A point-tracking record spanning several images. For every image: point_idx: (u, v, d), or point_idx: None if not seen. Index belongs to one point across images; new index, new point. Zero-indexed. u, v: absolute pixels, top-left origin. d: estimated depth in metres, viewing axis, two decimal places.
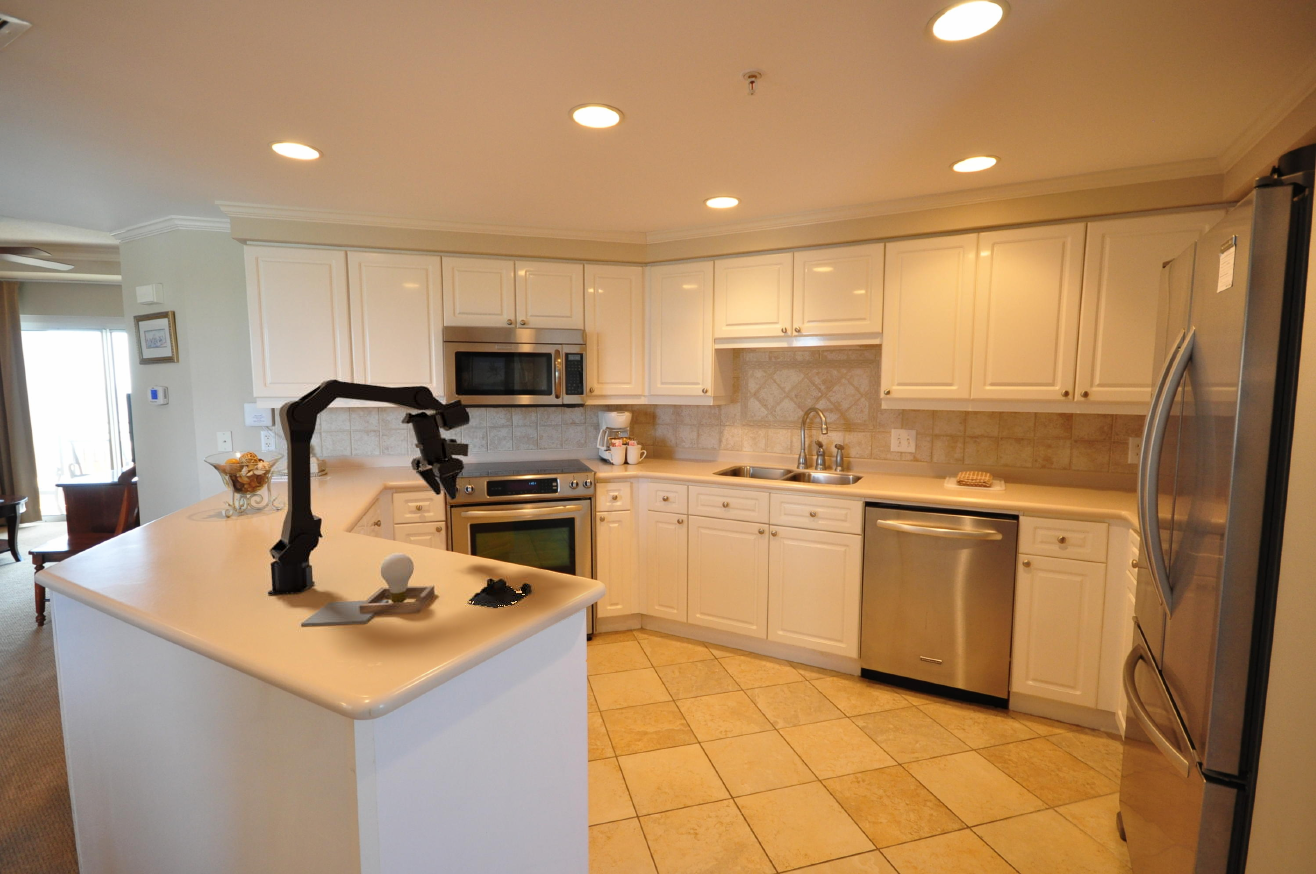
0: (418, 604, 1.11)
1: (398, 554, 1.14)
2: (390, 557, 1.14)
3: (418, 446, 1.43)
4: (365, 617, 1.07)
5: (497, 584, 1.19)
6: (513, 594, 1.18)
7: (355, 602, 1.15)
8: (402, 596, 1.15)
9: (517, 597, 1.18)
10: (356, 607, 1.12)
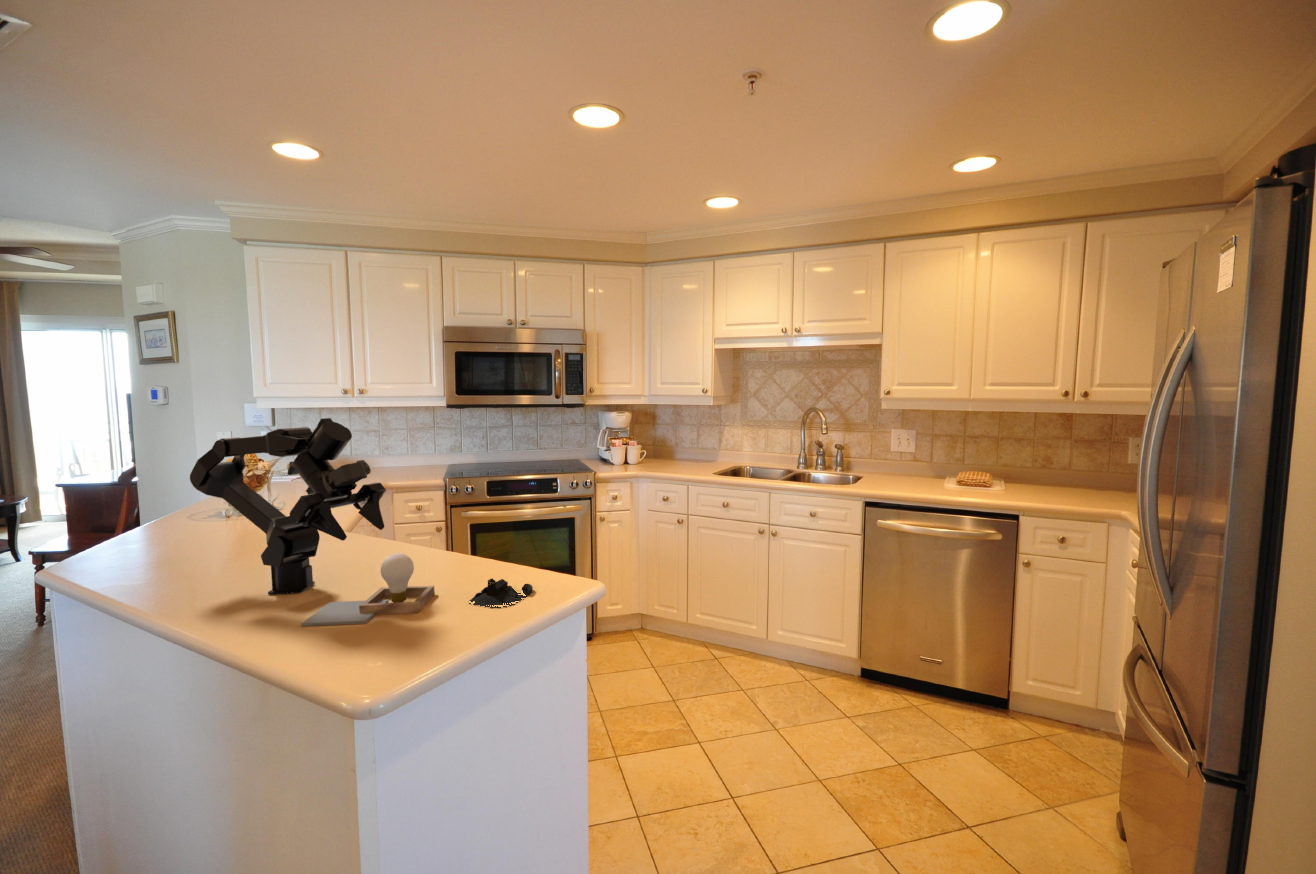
0: (418, 604, 1.11)
1: (398, 554, 1.14)
2: (390, 557, 1.14)
3: None
4: (365, 617, 1.07)
5: (498, 584, 1.18)
6: (514, 595, 1.18)
7: (355, 602, 1.15)
8: (402, 596, 1.15)
9: (518, 598, 1.18)
10: (356, 607, 1.12)
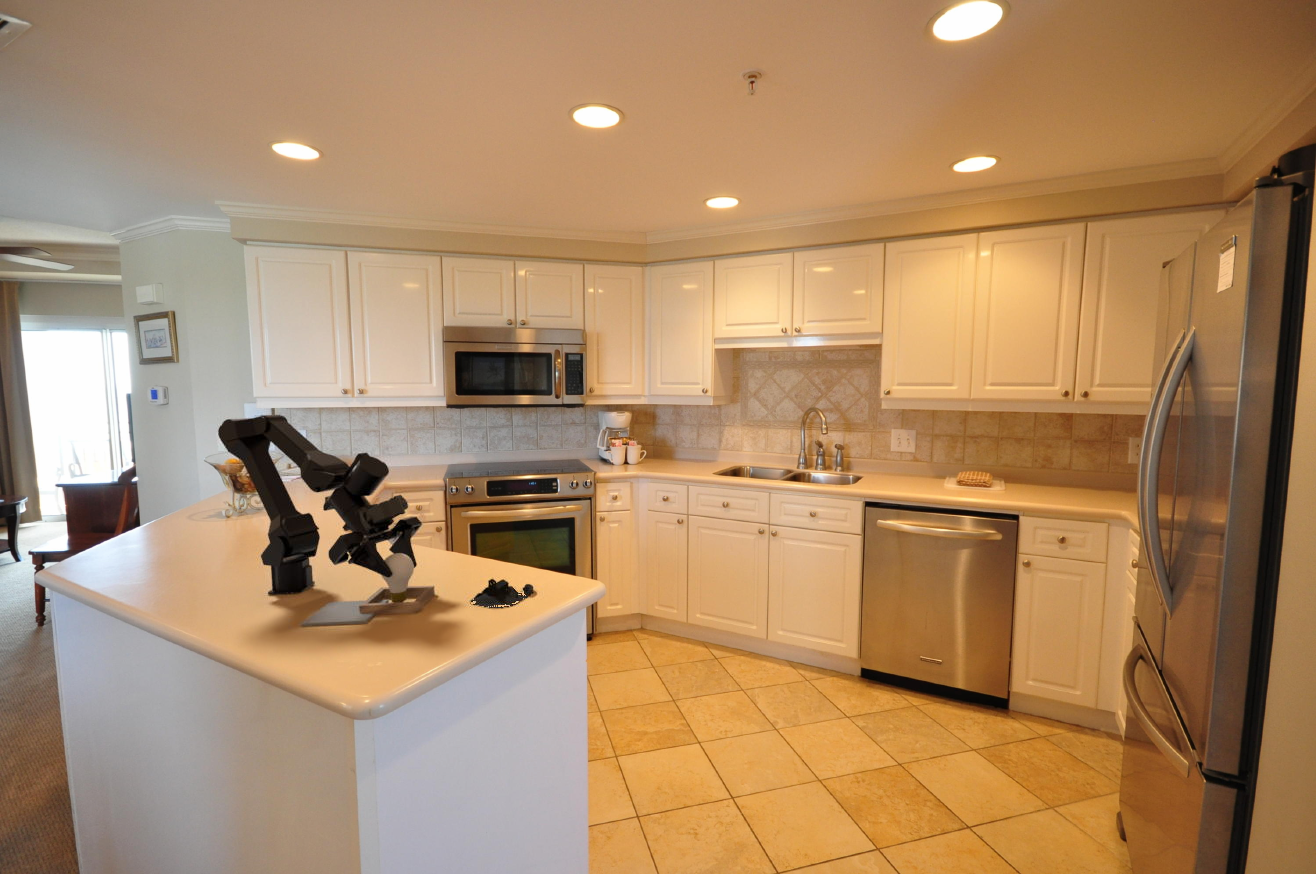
0: (418, 604, 1.11)
1: (398, 554, 1.14)
2: (390, 557, 1.14)
3: None
4: (365, 617, 1.07)
5: (499, 585, 1.18)
6: (514, 595, 1.18)
7: (355, 602, 1.15)
8: (402, 596, 1.15)
9: (518, 598, 1.17)
10: (356, 607, 1.12)
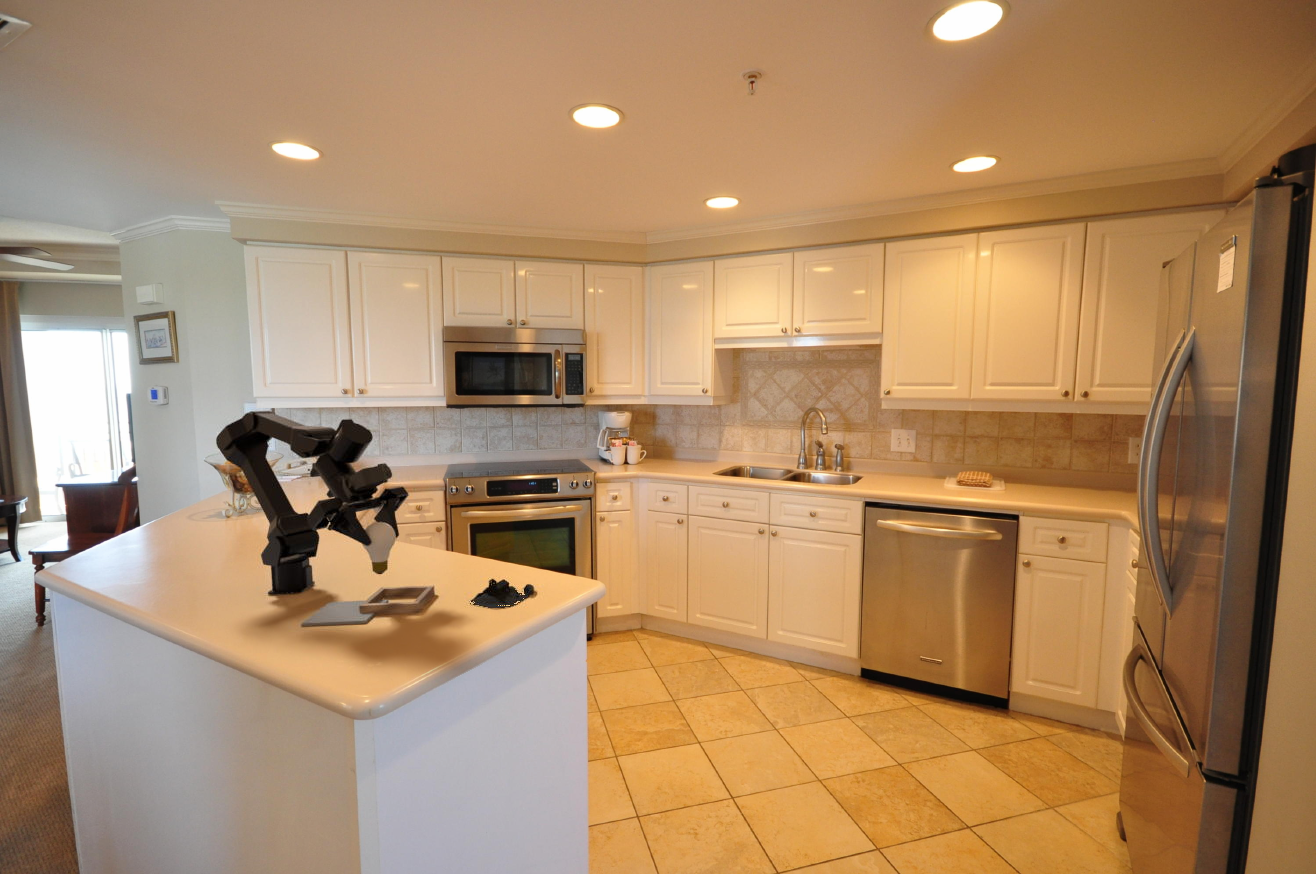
0: (418, 604, 1.11)
1: (379, 523, 1.12)
2: (371, 526, 1.11)
3: None
4: (365, 617, 1.07)
5: (499, 585, 1.18)
6: (515, 595, 1.18)
7: (355, 602, 1.15)
8: (383, 566, 1.12)
9: (519, 598, 1.17)
10: (356, 607, 1.12)
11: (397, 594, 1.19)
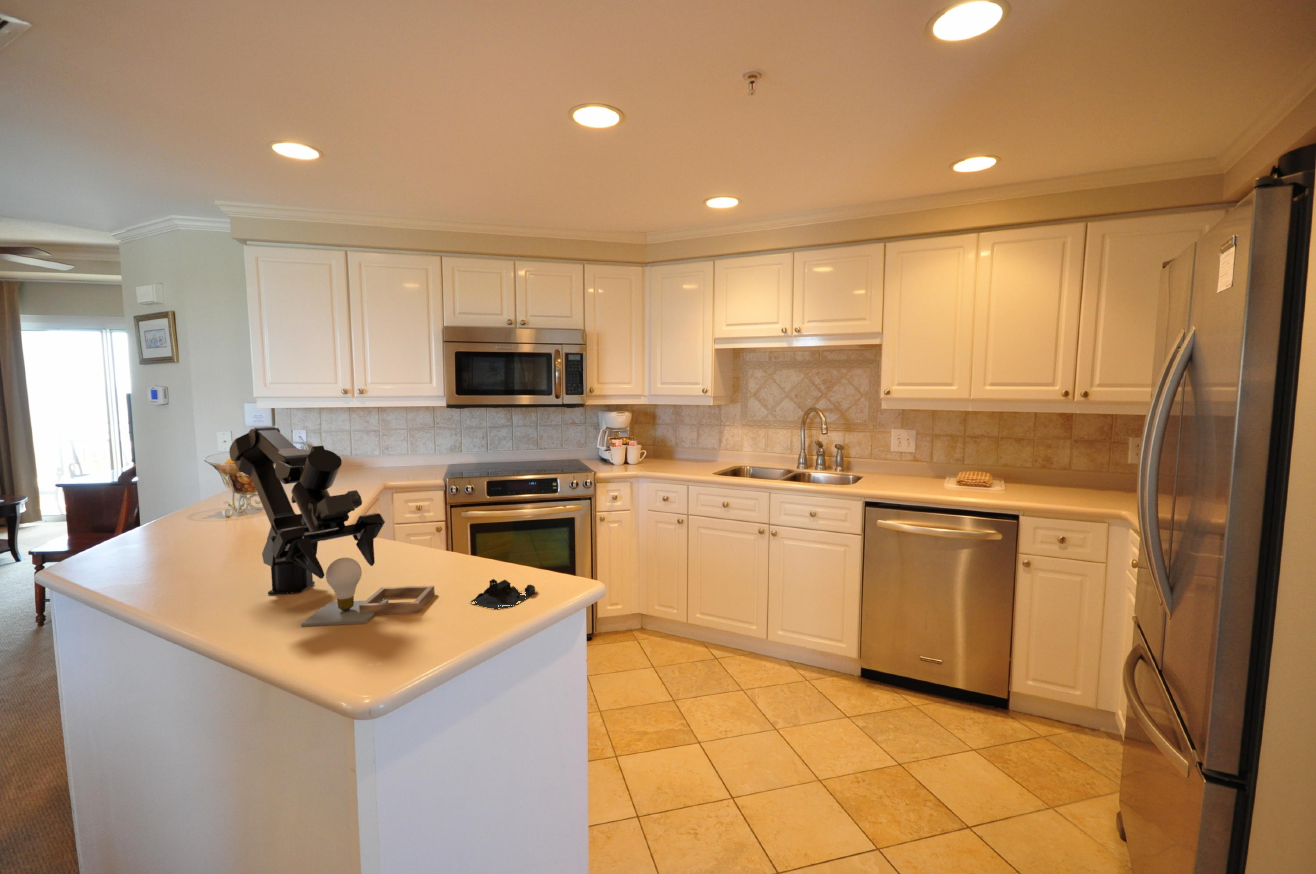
0: (418, 604, 1.11)
1: (343, 559, 1.10)
2: (334, 561, 1.09)
3: None
4: (365, 617, 1.07)
5: (500, 585, 1.18)
6: (516, 595, 1.18)
7: (355, 602, 1.15)
8: (347, 603, 1.10)
9: (519, 599, 1.17)
10: (356, 607, 1.12)
11: (397, 594, 1.19)
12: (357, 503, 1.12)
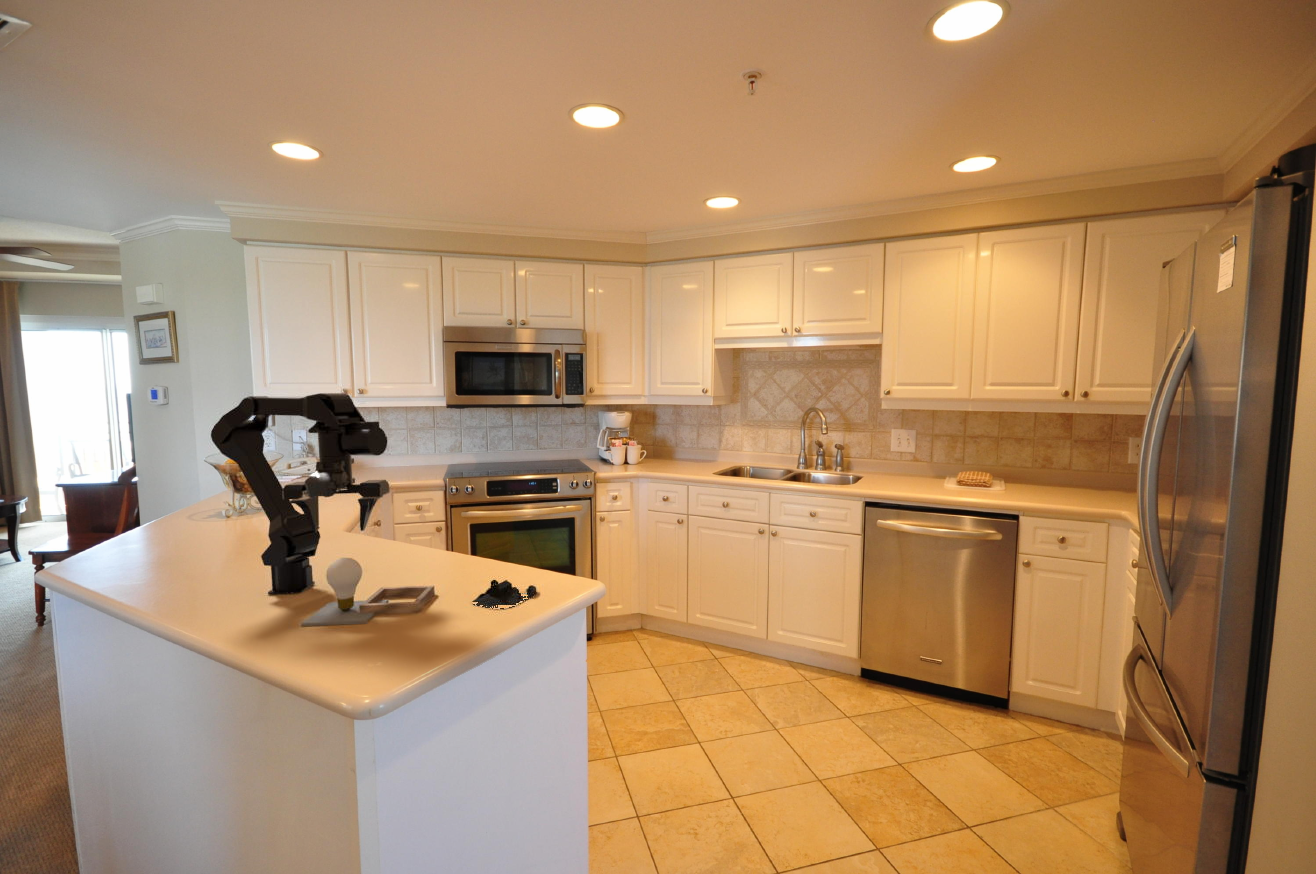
0: (418, 604, 1.11)
1: (344, 559, 1.10)
2: (335, 561, 1.09)
3: None
4: (365, 617, 1.07)
5: (501, 586, 1.18)
6: (517, 596, 1.17)
7: (355, 602, 1.15)
8: (347, 603, 1.10)
9: (520, 599, 1.17)
10: (356, 607, 1.12)
11: (397, 594, 1.19)
12: (338, 488, 1.14)
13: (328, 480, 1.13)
